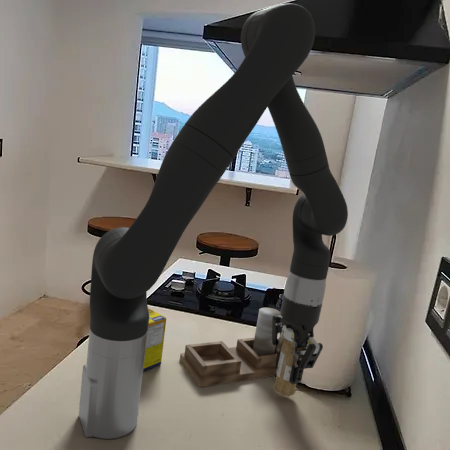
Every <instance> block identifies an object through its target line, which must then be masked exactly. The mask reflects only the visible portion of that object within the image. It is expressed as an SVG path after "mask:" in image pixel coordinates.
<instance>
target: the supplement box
mask: <svg viewBox="0 0 450 450" xmlns="http://www.w3.org/2000/svg"><path fill="white" fill-rule="evenodd" d="M148 311H149V325H148V333H147V342H146V350H145V358H144V367H143V373H144V372H146V371H148V370H151V369H153V368H155V367H157V366H161V365H162V358H163V349H164V342H165V333H166V326H167V317H166V316H164V315H163V314H161V313H159V312H156V311H155V310H153V309H151V308H150V307H148Z"/></svg>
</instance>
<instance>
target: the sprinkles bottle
mask: <svg viewBox="0 0 450 450" xmlns="http://www.w3.org/2000/svg"><path fill="white" fill-rule="evenodd" d="M291 331H293V330H292V329H291V328H287V329H286V328H285V331H284V335H283V336H284V337H283V338H284V340H283V344H282V349H281V353H280V358H279V363H278V368H277V373H276V374H277V375H275V381H274V383H273V390H274V391H275V392H276V393H277V394H279V395H281V396H285V397H286V396H287V397H290V396H294V395H295V394H296V391H297V390H296V388H297V384H291V383H290V382H289V379H290V374H291V369H292V365H293V354H292V353H291V344H292V343H291V342H293V340H292V339H291V335H292V333H291ZM303 348H304V347H303ZM303 348H297V350H302V349H303ZM299 360H301V355H299Z"/></svg>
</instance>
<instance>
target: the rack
mask: <svg viewBox="0 0 450 450" xmlns="http://www.w3.org/2000/svg"><path fill="white" fill-rule="evenodd" d="M280 311H281V310H278V309H276V308H272V307H261V308H259V309H258V315H257V322H256V327H255V333H254V337H248V338H240V339H237V341H236V346H234V347H233V346H232V347H229V346H228V345H227V344H226V343H225V342H224V341H222V340H219V341H211V342H201V343H200V342H199V343H194V344H193V343H192V344H185V349H184V352H181V353H180V355H179V361H180V362H181V363H182V365H183V366H184V368H185V369H186V370H187V372H188V373H189V374H190V375H191V377H192V378H193V380H194V381H195V382H196V384H197V385H198V386H199V387H200V388H203V387H210V386H216V385H222V384H223V385H224V384H229V383H235V382H241V381H248V380H254V379H261V378H267V377H274V376H275V377H276V375H275V374H276V373H277V369H276V368H275V366H276V357H277V350H276V348H277V347H276V345H273V344H272V317H273V316H279V315H281V314H280ZM278 334H279V333H278ZM278 334H277V337H278Z"/></svg>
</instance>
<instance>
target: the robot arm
mask: <svg viewBox="0 0 450 450" xmlns="http://www.w3.org/2000/svg"><path fill="white" fill-rule="evenodd" d="M312 16H313V15H312V14H311V13H310V12H309V10H307V8H305V7H304V6H303V5H300V4H296V3H281V4H277V5H272V6H269V7H267V8H264V9H260V10H258V11H256V12H254V13H252V14H251V15H250V16H249V17H247V19H246V21H244V24H243V26H242V28H241V33H240V44H241V45H240V46H241V49H242V53H243V56H244V59H243V60H242V61H241V64H240V65H239V66H238V67H237V69H236V71H234V73H233V74H232V75H231V77H230V78H229V79H227V81H226V82H225V83H223V84H222V85H221V86H220V87H219V88H218V89H217V90H216V91H214V93H212V94H211V95H210V96H209V97H208V98H207V99H205V100H204V102H202V104H201V105H200V106H198V107H197V109H196V110H194V112H193V113H192V114H191V115H190V117H189V118H188V119H187V120H186V122H185V123H184V124H183V126H182V127H181V129H180V131H179V132H178V134H177V135H176V137H175V138H174V140H173V141H172V143H171V144H170V146H169V148H168V149H167V151H166V153H165V155H164V156H163V159H162V161H161V164H160V166H159V167H160V168H159V170H158V173H157V175H156V177H155V178H156V179H155V183H154V185H153V187H152V190H151V193H150V195H149V197H148V200H147V202H146V204H145V205H144V207H143V208H142V210H141V211H140V213H139V215H138V216H137V217H136V219H135V220H134V221H133V223H132V224H131V225H130V227H125V226H123V227H116V228H113V229H111V230H109V231H107V232H105V233H103V234H102V236H101V237H100V238H99V240H98V241H97V243H96V245H95V247H94V250H93V255H92V263H91V276H90V288H89V289H90V291H89V313H90V314H89V315H90V319H89V330H88V331H89V333H88V343H87V344H88V345H87V357H86V364H84V365H83V366H82V370H81V371H82V374H81V382H80V383H81V385H80V395H79V396H80V397H79V407H78V417H79V421H80V423H81V424H80V425H81V427H82V430H83V433H84V436H85V438H90V437H91V438H92V437H95V438H98V439H104V440H105V439H106V440H110V439H118V438H122V437H124V436H126V435H128V434H130V433H132V432H133V430H134V429H135V428H136V426H137V424H138V417H139V411H140V399H141V393H142V384H143V373H144V372H143V367H144V358H145V350H146V342H147V333H148V325H149V311H148V308H149V306H148V299H147V292H149V290H151V289H152V288H153V286H154V285H155V284H156V283H157V281H158V280H159V278H160V276H161V275H162V273H163V272H164V270H165V267H166V265H167V264H168V262H169V260H170V259H171V256H172V255H173V252H174V250H175V248H176V246H177V245H178V243H179V242H180V240H181V238H182V236H183V234H184V232H185V231H186V229H187V227H188V226H189V224H190V223H191V221H192V220H193V219H194V217H195V215H197V213H198V212H199V210H200V209H201V207H202V206H203V204H204V202H205V201H206V199H207V198H208V197H209V196H210V193H211V192H213V189H214V188H215V187H216V186H217V184H218V183H219V181H220V180H221V178H222V177H223V175H224V174H225V172H226V171H227V169H228V168H229V166H230V165H231V164H232V162H233V160H234V159H235V158H236V156H237V154H238V153H239V151H240V149H241V148H242V146H243V144H244V143H245V141H246V140H247V139H248V137H249V135H250V134H251V133H252V131H253V130H254V129H255V127H256V125H257V124H258V122H259V121H260V119H261V117H262V116H263V114H264V113H265V112H266V109H268V111H269V114H270V116H271V119H272V121H273V123H274V128H275V130H276V133H277V136H278V138H279V141H280V145H281V148H282V152H283V155H284V159H285V162H286V166H287V170H288V173H289V176H290V180H291V182H292V183H293V185H294V186H295V187H296V188H297V189H298V190H300V191H301V192H302V193H303V194H301V195H300V196H299V198H298V199H297V201H296V203H295V205H294V207H293V211H292V240H293V251H292V256H291V262H290V266H289V267H290V268H289V272H288V275H287V278H286V281H285V286H284V292H283V297H282V302H281V306H280V310H279V311H280V314H281V315H279V316H273V317H272V344H273V345H276V347H277V348H276V350H277V357H276V366H275V368H276V369H277V368H278V363H279V358H280V353H281V349H282V344H283V340H284V338H283V337H284V336H283V335H284V331H285V328H286V329H287V328H291V329H292V330H293V331H291V333H292V335H291V339H292V340H293V342H291V343H292V344H291V353H292V354H293V365H292V369H291V374H290V379H289V382H290V383H291V384H296V385H297V384H300V383H301V382H302V380H303V375H304V370H306V369H312V368H314V366H315V364H316V362H317V360H318V359H319V356H320V354H321V352H322V350H323V348H324V347H323V344H322V342H317V341H316V340H315V338H314V336H315V334H314V328H315V327H316V325H317V324H318V323H319V321H320V317H321V312H322V311H321V310H322V309H323V302H324V297H325V293H326V285H327V284H326V282H327V276H328V272H329V267H330V262H331V250H330V248H329V247H328V246H327V245H326V244H325V243H324V240H323V236H327V237H330V236H335V235H338V234H340V233H341V232H342V231H343V230H344V228H345V227H346V224H347V223H348V222H347V221H348V217H349V211H348V205H347V201H346V199H345V197H344V195H343V192H342V191H341V189H340V187H339V185H338V182H337V180H336V179H335V178H336V177H334V175H333V173H332V172H331V169H330V165H329V159H328V156H327V151H326V147H325V143H324V140H323V137H322V134H321V132H320V129H319V127H318V126H317V124H316V121H315V120H314V118H313V116H312V114H311V113H310V112H309V110H308V107H306V105H305V103H304V101H303V99H302V97H301V96H300V93H299V92H298V91H299V90H298V89H297V86H296V84H295V81H294V74H295V73H296V72H297V71H298V70H299V68H300V67H301V66H302V65H303V63H304V62H305V61H306V60H307V58H308V56H309V54H310V52H311V50H312V49H313V46H314V42H315V37H316V27H315V21H314V19H313V17H312ZM277 334H279V337H278V336H277ZM303 347H304V348H303ZM297 348H303V349H302V350H297ZM299 355H301V360H299Z"/></svg>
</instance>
